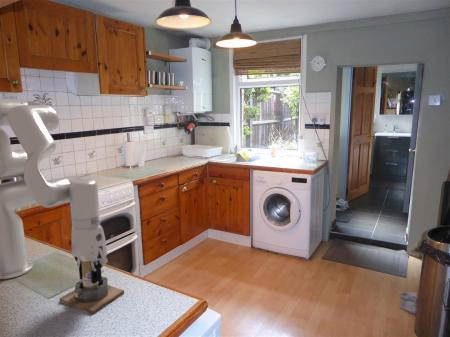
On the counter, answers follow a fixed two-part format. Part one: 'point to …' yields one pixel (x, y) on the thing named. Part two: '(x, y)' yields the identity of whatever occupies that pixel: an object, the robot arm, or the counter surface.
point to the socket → (91, 291)
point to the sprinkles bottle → (87, 274)
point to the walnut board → (92, 306)
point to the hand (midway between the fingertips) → (90, 278)
